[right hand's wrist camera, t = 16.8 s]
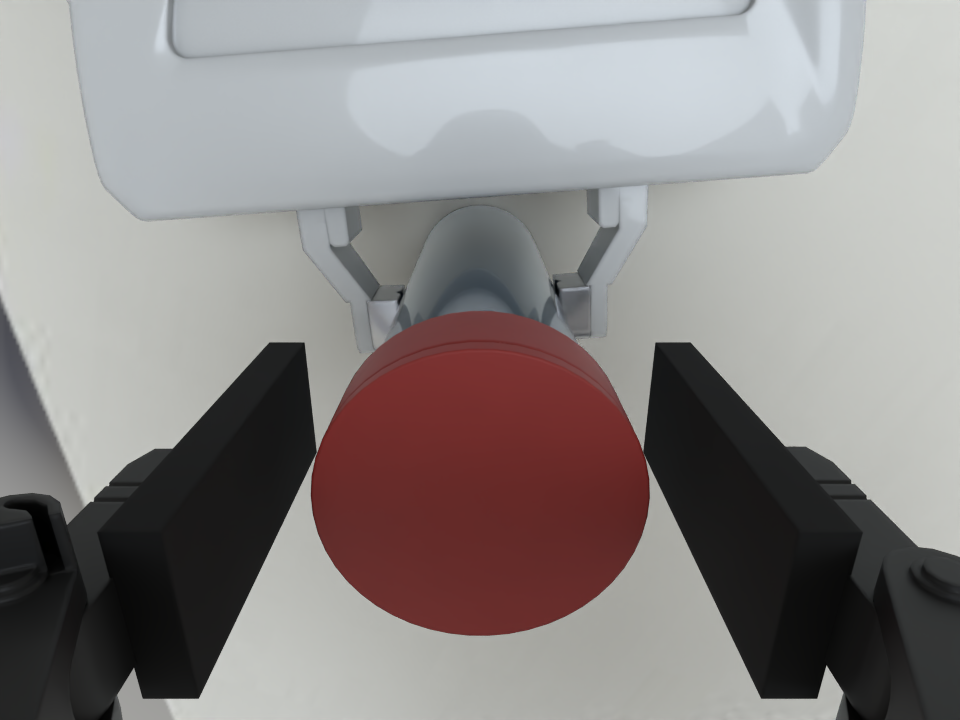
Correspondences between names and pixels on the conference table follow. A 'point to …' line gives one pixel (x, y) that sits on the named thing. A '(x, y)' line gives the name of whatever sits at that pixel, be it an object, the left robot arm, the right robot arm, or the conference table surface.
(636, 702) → the conference table surface
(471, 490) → the lid
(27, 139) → the conference table surface
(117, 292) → the conference table surface
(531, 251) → the blue-grey tall cylinder
